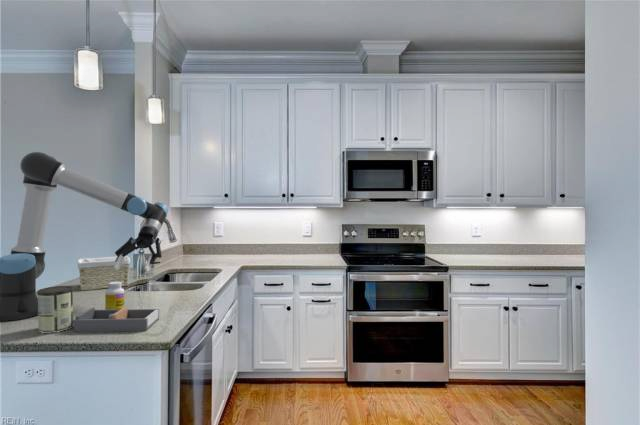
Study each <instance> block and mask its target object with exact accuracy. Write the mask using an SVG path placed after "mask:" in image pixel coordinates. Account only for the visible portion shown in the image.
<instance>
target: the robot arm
mask: <svg viewBox="0 0 640 425" xmlns="http://www.w3.org/2000/svg"><path fill="white" fill-rule="evenodd" d="M19 166H20V170H21V172H22V174H23V181H22V184H23V186H24V187H25V188H26V191H25V196H24V202H23V207H22V212H21V213H22V214H21V219H20V224H19V231H18V235H17V236H18V237H17V242H16V245H15V246H14V247H12V248H11V250H10V254H7V255H3V256H1V257H0V322H9V321H8V320H13V321H18V320H17V319H20V320H24V319H23V318H26V319H29V318H28V317H30V318H33V317H32V316H34V317H35V315H36V316H38V295H37V288H36V286H37V285H36V283H37V282H36V280H37V279H38V278H40V277H41V275H43V273H44V271H45V268H46V262H45V256H46V250H45V249H44V247H43V243H44V238H45V237H44V236H45V232H46V224H47V219H48V214H49V206H50V201H51V196H52V192H53V191H55V190H56V189H57V187H58V186H60V187H63V188H65V189H68V190H70V191H73V192H76V193H78V194H80V195H81V194H82V195H84V196H85V197H89V198H92V199H94V200H96V201H99V202H102V203H103V204H107V205H108V206H109V205H110V206H112V207H115V208H117V209H120V210H122V211H124V212H126V213H130V214H131V215H133V216H138V217H141V218H143V219H144V220H145V221H144V222H143V224H142V226H141V228H140V230H139V232H138V234H137V235H138V236H137V237H136V238H133V237H132V236H131V237H129V239H128V240H127V241H126V242H124V244H122V245H121V246H120V247H119V248H118V249H117V250H116V251H115V252H114V254H115V256H117V258H116V260H115V262H116V263H115V265H114V269H115V270H116V271H118V270H119V268H120V266H121V264H122V262H123V260H124V257H125V256H128V255H129V254H130V253H133V252H134V251H135V250H139V249H147V248H148V249H149V252H150V254H151V255H149V257H148V259H147V261H146V263H145V264H144V265H145V266H144V270H145V271H146V272H150V270H151V267H152V265H154V264H155V262H156V259H158V258H159V259H160V258H162V248H161V242H162V241H161V239H160V238H159V237H158V235H159V233H160V231H161V229H162V226H163V225H164V222H165V220H166V219H167V215H168V212H169V207H168V205H166V204H165V203H163V202H154V203H150V202H148V201H147V200H145V199H144V198H142V197H139V196H136V195H134V194H132V193H129V192H126V191H124V190H121V189H119V188H117V187H114V186H112V185H110V184H107V183H105V182H102V181H100V180H97V179H95V178H92V177H90V176H88V175H85V174H83V173H80V172H78V171H76V170H73V169H71V168H68V167H66V166H65V164H64V163H62V162H60V161H58V160H57V159H56V158H54V157H53V156H51V155H49V154H46V153H44V152H41V151H33V152H29V153H27V154H26V155H24V156H23V157H22V159H21V161H20V165H19ZM153 244H155V251H156V252H155V251H154V249H153V246H152V245H153Z"/></svg>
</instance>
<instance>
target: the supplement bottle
mask: <svg viewBox="0 0 640 425" xmlns="http://www.w3.org/2000/svg"><path fill="white" fill-rule="evenodd" d="M121 285H122V282H110V283H108V286H109V288H107V289H106V290H105V293H104V294H105V295H104V298H105V304H104V308H105V309H104V310H116V309H122V308H124V307H125V289H124V288H122V287H121Z"/></svg>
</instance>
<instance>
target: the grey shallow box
mask: <svg viewBox="0 0 640 425" xmlns="http://www.w3.org/2000/svg"><path fill="white" fill-rule="evenodd" d="M119 310H121V309H116V310H105V309H96V308H95V307H91V308H89V309H87V310H86V311H83V312H81V313H80V314H78V315H75V319H73V328H74V329H73V331H81V332H82V333H84V332H85V333H90V332H94V333H95V332H97V333H98V332H140V331H141V332H142V331H143V332H144V331H145V332H146V331H148V330H149V329H150V328H152V327H153V325H155V324H157V322H158V321H159V320H160V309H159V308H134V309H133V308H132V309H129V308H128V318H127V319H109V314H114V313H116V312H118V311H119ZM81 332H80V333H81Z"/></svg>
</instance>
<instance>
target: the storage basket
mask: <svg viewBox="0 0 640 425" xmlns="http://www.w3.org/2000/svg"><path fill="white" fill-rule="evenodd" d="M116 258H117V255H115V256H104V257H82V258H79V259H78V260H77V263H76V264H77V268H78V272H79V283H80V291H91V290H93V291H94V290H102V289H109V286H108V283H110V282H122V285H121V288H122V287H127V286H129V279H130V278H129V276H130V264H131V258H130V257H129V256H128V255H126V256H125V257H124V260H123V262H122V264H121V266H120V268H119V270H118V271H116V270H115V269H114V265H115V263H116V262H115V260H116Z"/></svg>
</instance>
